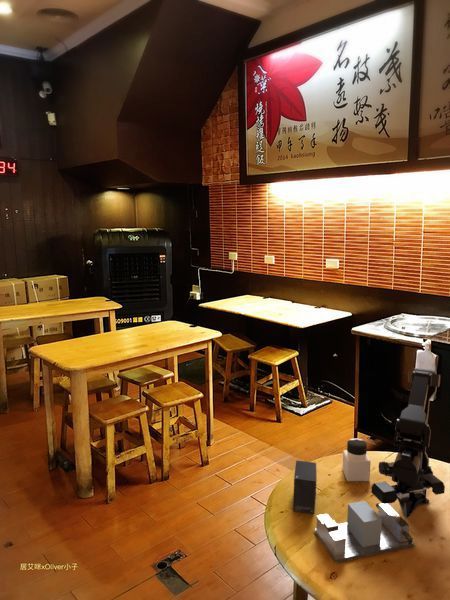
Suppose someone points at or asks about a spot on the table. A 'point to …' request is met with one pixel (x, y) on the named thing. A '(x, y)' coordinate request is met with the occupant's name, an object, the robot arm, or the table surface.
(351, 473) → the medicine bottle
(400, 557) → the table surface
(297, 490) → the small box
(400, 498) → the robot arm
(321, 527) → the vise
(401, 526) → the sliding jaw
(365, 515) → the block
